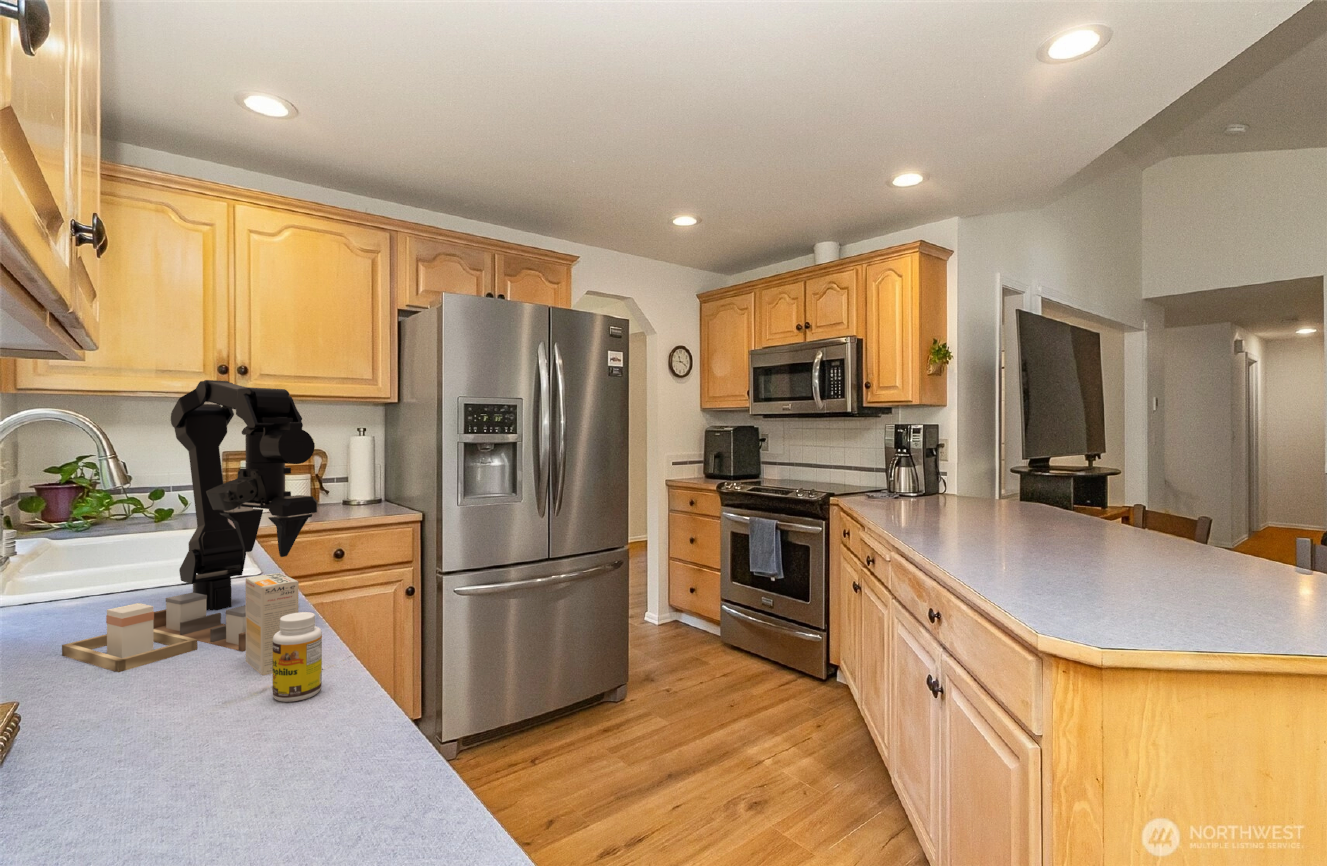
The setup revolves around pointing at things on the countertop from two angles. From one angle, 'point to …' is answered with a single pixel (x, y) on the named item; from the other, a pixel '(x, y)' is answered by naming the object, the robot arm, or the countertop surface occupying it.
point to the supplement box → (267, 616)
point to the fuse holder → (201, 630)
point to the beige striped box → (129, 630)
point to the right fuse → (235, 623)
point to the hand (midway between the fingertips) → (265, 554)
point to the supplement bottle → (297, 658)
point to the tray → (87, 655)
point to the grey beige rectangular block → (184, 609)
